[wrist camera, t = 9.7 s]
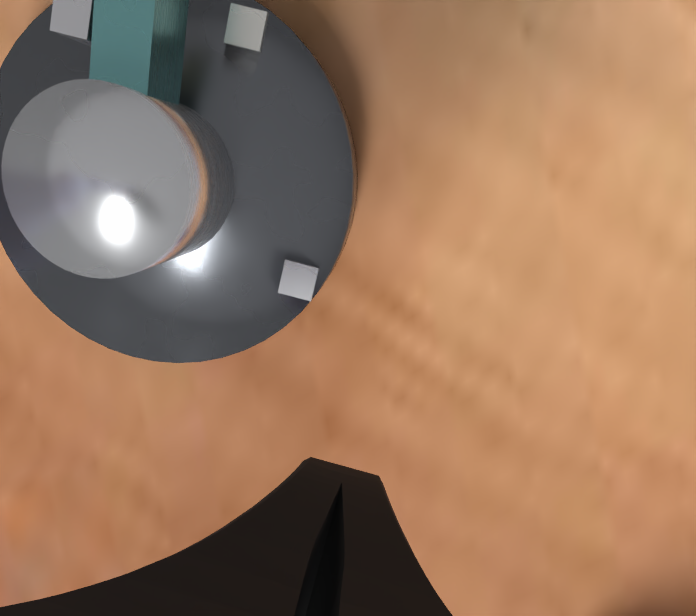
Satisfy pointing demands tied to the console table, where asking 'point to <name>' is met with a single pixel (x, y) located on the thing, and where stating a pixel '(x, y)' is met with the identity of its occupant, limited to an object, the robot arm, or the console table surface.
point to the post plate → (249, 187)
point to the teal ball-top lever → (119, 153)
